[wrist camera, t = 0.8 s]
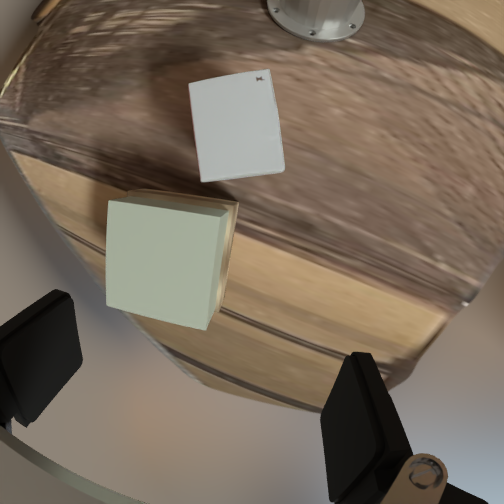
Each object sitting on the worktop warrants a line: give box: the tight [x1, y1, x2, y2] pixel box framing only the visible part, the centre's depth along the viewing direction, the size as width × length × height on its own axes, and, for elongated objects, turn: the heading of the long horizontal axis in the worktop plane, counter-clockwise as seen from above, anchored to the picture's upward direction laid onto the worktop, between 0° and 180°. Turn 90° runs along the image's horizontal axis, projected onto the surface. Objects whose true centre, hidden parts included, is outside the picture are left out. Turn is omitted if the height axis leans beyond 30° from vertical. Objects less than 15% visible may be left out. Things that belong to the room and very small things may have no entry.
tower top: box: [106, 196, 229, 330], centre depth 28 cm, size 11×11×5 cm
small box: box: [188, 69, 285, 182], centre depth 25 cm, size 8×6×13 cm
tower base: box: [127, 188, 239, 313], centre depth 33 cm, size 12×12×5 cm
